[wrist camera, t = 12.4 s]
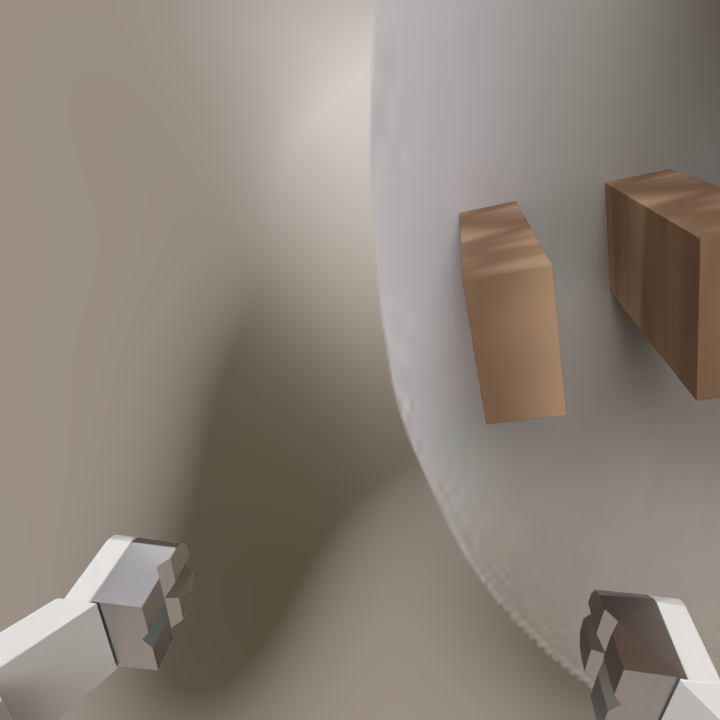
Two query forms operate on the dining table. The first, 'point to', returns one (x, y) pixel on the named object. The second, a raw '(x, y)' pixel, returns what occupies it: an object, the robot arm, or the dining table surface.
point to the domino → (670, 269)
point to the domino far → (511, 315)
